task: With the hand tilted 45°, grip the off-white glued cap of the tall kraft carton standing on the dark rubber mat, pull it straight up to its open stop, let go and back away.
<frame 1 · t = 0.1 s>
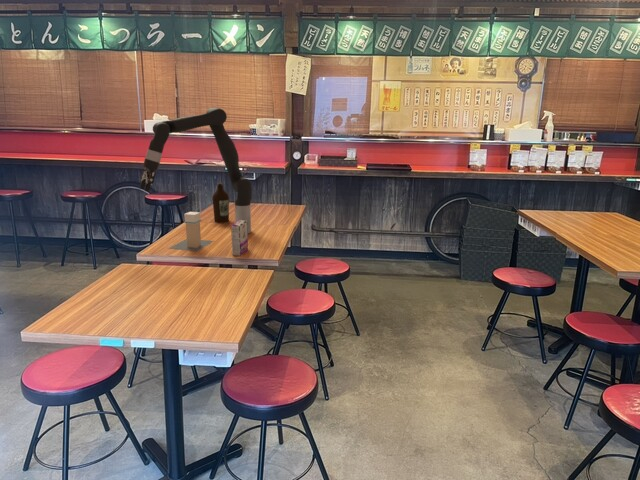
hand: (144, 189, 254), 31 cm above the table, tool tilted 20°, fingers open, 8 cm apart
candy bar box: (240, 253, 257), on the table
olive oil: (221, 221, 322), on the table
carton lid: (192, 217, 259), point 17 cm above the table, slide at 0.0 cm
packing mat: (191, 246, 266), on the table
kraft carton: (194, 246, 263), resting on packing mat
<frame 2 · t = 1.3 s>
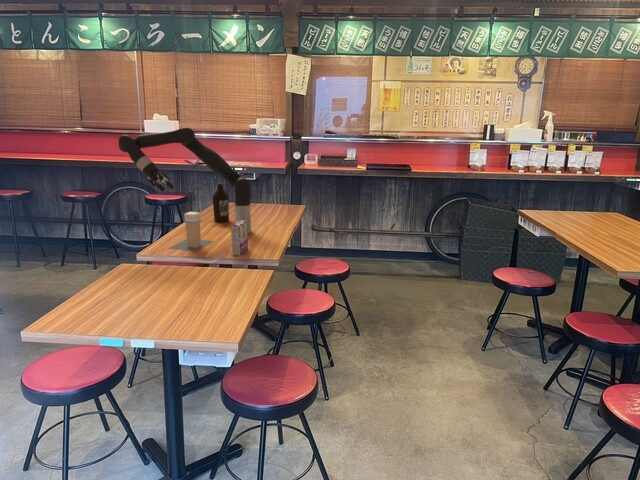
hand: (168, 189, 258), 31 cm above the table, tool tilted 45°, fingers open, 8 cm apart
nothing on the table moved.
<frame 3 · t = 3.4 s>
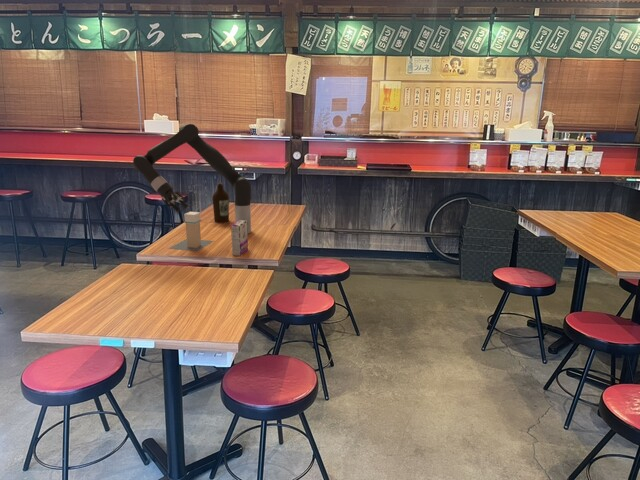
hand: (182, 209, 259), 21 cm above the table, tool tilted 45°, fingers open, 8 cm apart
nothing on the table moved.
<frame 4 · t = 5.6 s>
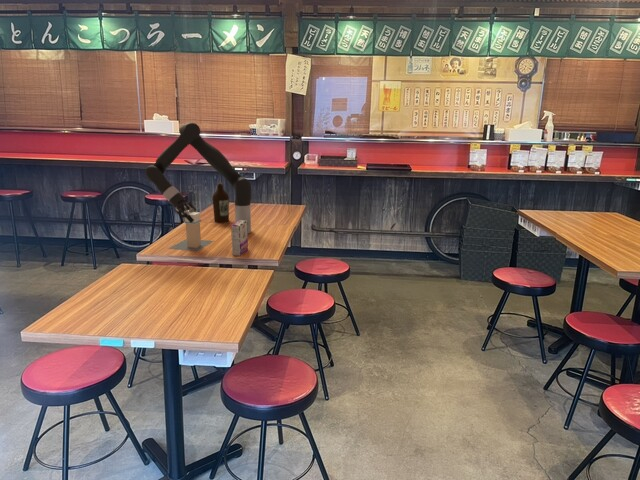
hand: (195, 220, 259), 16 cm above the table, tool tilted 45°, fingers closed on carton lid, 6 cm apart
carton lid: (192, 217, 259), point 17 cm above the table, slide at 0.0 cm, touching gripper
everything else where it was.
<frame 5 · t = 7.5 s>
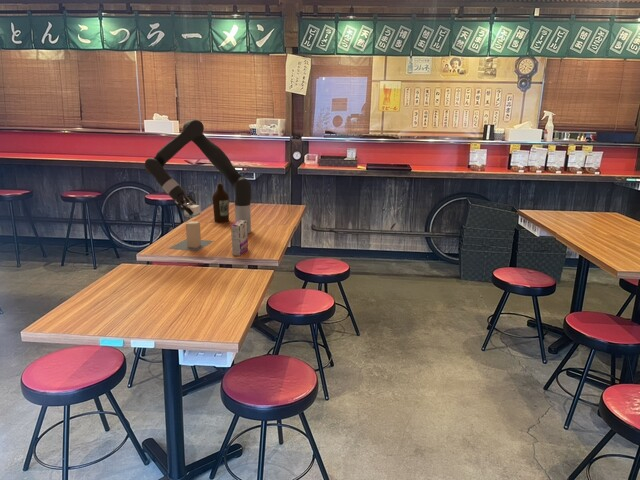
hand: (195, 212, 258), 20 cm above the table, tool tilted 45°, fingers closed on carton lid, 6 cm apart
carton lid: (192, 210, 258), point 21 cm above the table, slide at 3.9 cm, touching gripper
everything else where it was.
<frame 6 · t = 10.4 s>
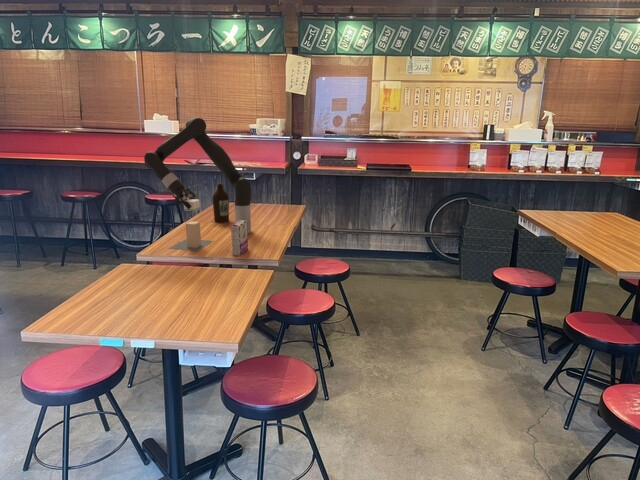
hand: (194, 206, 257), 23 cm above the table, tool tilted 45°, fingers open, 8 cm apart
carton lid: (191, 205, 257), point 24 cm above the table, slide at 6.9 cm
everything else where it was.
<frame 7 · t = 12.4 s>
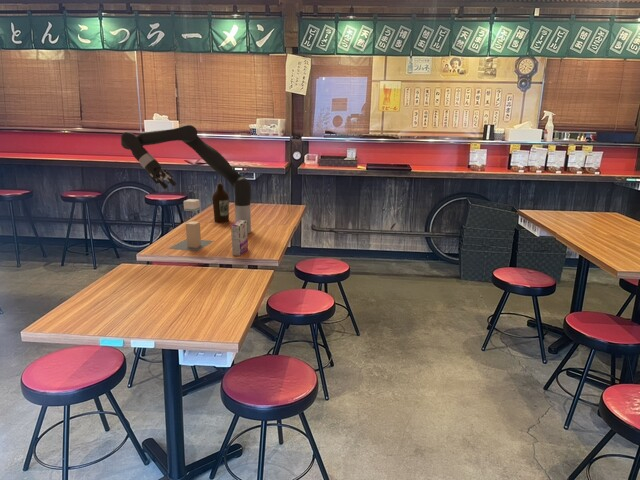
hand: (171, 186, 257), 33 cm above the table, tool tilted 45°, fingers open, 8 cm apart
nothing on the table moved.
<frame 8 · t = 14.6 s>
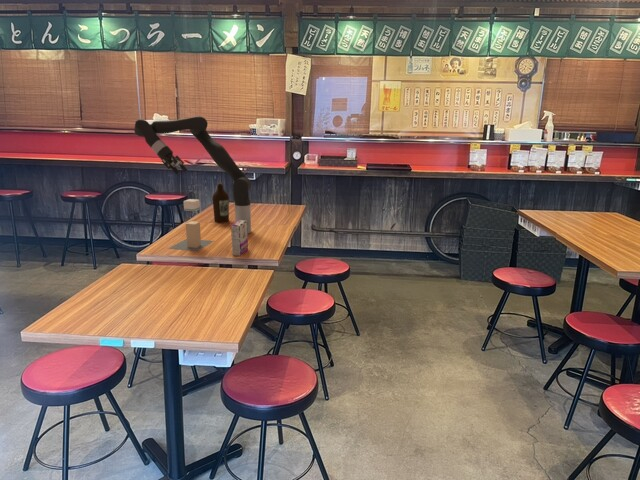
hand: (182, 172, 268), 39 cm above the table, tool tilted 45°, fingers open, 8 cm apart
nothing on the table moved.
at the end: carton lid slide at 6.9 cm; the gripper is holding nothing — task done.
